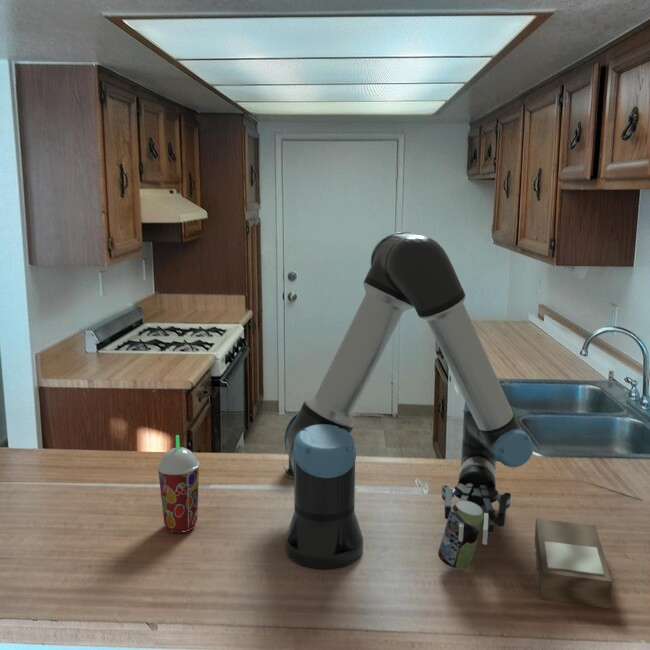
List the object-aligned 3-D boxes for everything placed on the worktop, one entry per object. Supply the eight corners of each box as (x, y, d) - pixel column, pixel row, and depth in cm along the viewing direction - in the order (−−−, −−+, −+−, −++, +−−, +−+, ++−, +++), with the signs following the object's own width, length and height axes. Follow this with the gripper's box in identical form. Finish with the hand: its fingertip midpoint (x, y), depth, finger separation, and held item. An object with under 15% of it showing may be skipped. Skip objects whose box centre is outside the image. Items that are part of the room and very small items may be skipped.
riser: (540, 599, 115) (542, 570, 114) (534, 541, 134) (536, 517, 133) (609, 608, 112) (612, 579, 111) (593, 548, 131) (595, 523, 130)
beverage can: (440, 552, 127) (447, 493, 125) (479, 561, 125) (487, 501, 122) (434, 568, 121) (441, 506, 119) (475, 578, 119) (483, 515, 117)
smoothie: (209, 526, 140) (206, 435, 136) (176, 541, 134) (171, 446, 130) (185, 513, 145) (182, 425, 142) (152, 527, 139) (148, 435, 136)
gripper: (516, 503, 137) (520, 562, 115) (435, 493, 141) (424, 548, 119) (519, 469, 136) (523, 521, 114) (437, 460, 140) (426, 509, 118)
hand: (472, 535), depth 116 cm, fingers closed on beverage can, 3 cm apart
